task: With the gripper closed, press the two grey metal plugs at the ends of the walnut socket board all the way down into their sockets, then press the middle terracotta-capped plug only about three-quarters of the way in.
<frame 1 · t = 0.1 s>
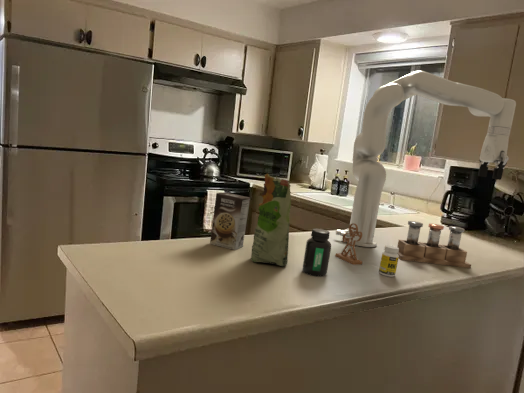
hand: (489, 177, 166), 31 cm above the table, tool pointing down, fingers open, 9 cm apart
tan upright figure piece: (348, 260, 140), on the table
supplement bottle: (314, 273, 122), on the table
plug 2: (454, 238, 156), point 9 cm above the table, slide at 0.0 cm
plug mid: (434, 236, 155), point 9 cm above the table, slide at 0.0 cm
pouch: (266, 262, 126), on the table
plug 1: (413, 233, 155), point 9 cm above the table, slide at 0.0 cm
socket board: (429, 259, 156), on the table
supplement bottle 2: (386, 274, 130), on the table
coffee box: (226, 246, 138), on the table
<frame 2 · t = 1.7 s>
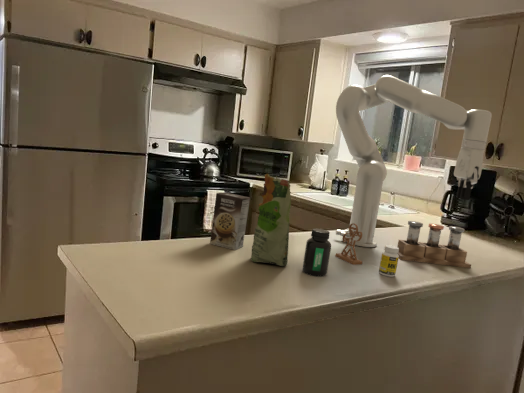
hand: (462, 198, 154), 23 cm above the table, tool pointing down, fingers closed
nothing on the table moved.
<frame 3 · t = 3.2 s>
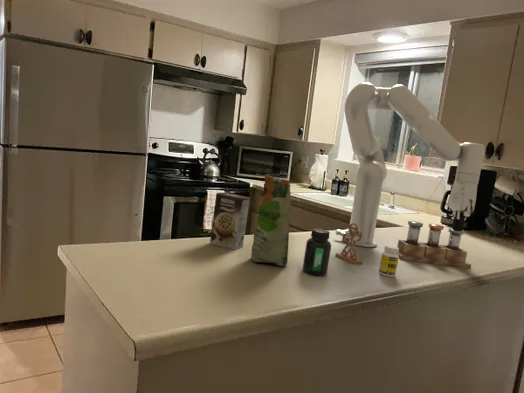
hand: (457, 230, 155), 12 cm above the table, tool pointing down, fingers closed
plug 2: (454, 241, 156), point 8 cm above the table, slide at 0.8 cm, touching gripper
everything else where it was.
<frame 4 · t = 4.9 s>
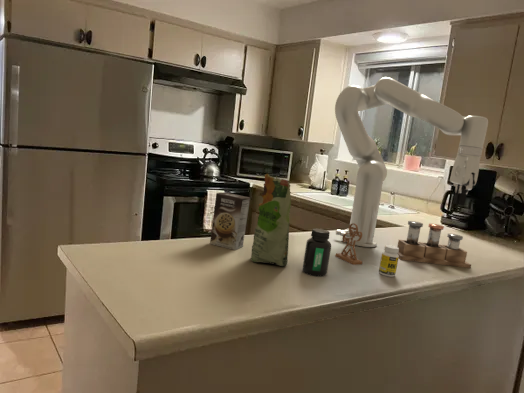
hand: (458, 204, 154), 21 cm above the table, tool pointing down, fingers closed
plug 2: (453, 246, 156), point 6 cm above the table, slide at 2.7 cm
everything else where it was.
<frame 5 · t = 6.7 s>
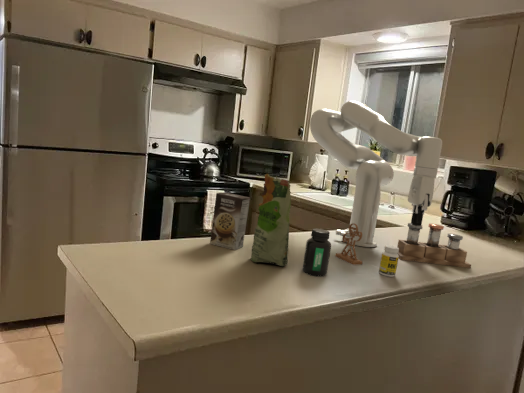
hand: (415, 224, 154), 12 cm above the table, tool pointing down, fingers closed
plug 1: (413, 235, 155), point 8 cm above the table, slide at 0.8 cm, touching gripper
everything else where it was.
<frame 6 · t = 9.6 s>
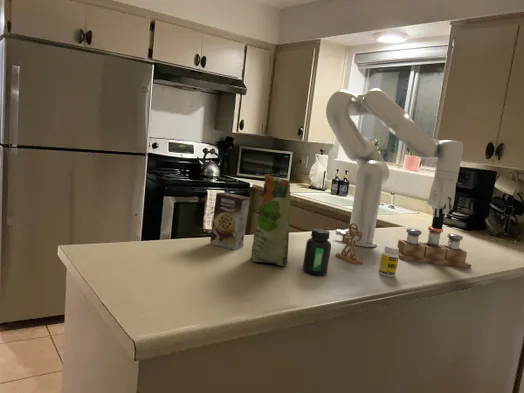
hand: (436, 227, 154), 12 cm above the table, tool pointing down, fingers closed
plug mid: (433, 238, 155), point 8 cm above the table, slide at 1.0 cm, touching gripper
plug 1: (412, 241, 155), point 6 cm above the table, slide at 2.7 cm
everything else where it was.
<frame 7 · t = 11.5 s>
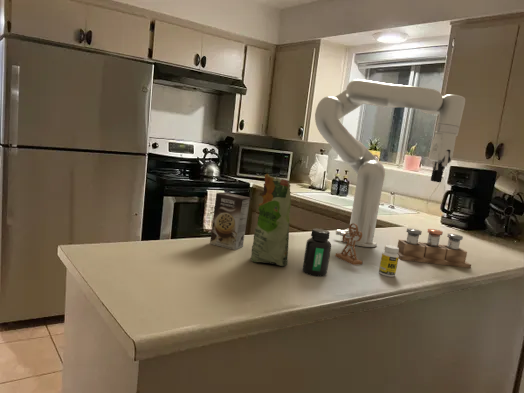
hand: (435, 181, 158), 27 cm above the table, tool pointing down, fingers closed
plug mid: (433, 241, 155), point 7 cm above the table, slide at 1.9 cm
everything else where it was.
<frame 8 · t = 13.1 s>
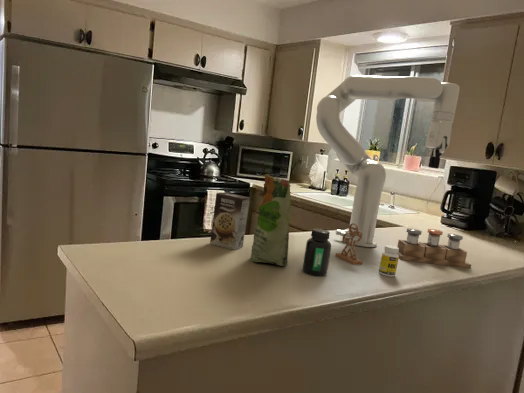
hand: (433, 167, 163), 32 cm above the table, tool pointing down, fingers closed
nothing on the table moved.
at the end: plug 2 slide at 2.7 cm; plug 1 slide at 2.7 cm; plug mid slide at 1.9 cm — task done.
